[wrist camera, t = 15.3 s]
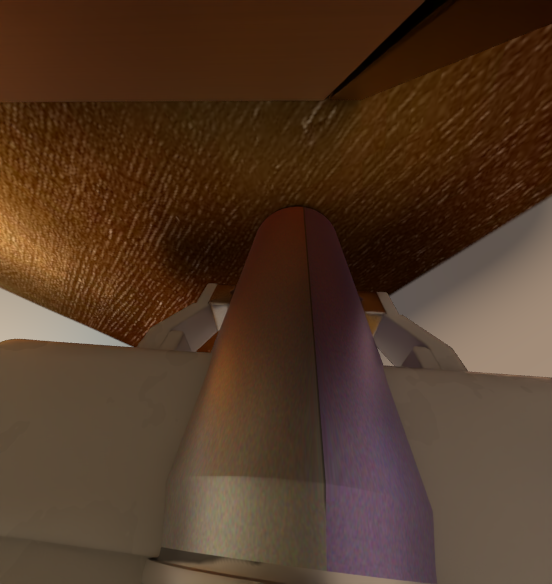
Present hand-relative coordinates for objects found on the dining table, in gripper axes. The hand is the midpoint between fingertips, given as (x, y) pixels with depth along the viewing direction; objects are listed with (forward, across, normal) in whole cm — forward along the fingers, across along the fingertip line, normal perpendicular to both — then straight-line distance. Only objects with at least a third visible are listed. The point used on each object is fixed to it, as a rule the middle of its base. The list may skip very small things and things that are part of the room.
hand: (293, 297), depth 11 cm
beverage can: (+6, 0, 0) cm, 6 cm away
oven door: (+6, -5, -28) cm, 29 cm away
